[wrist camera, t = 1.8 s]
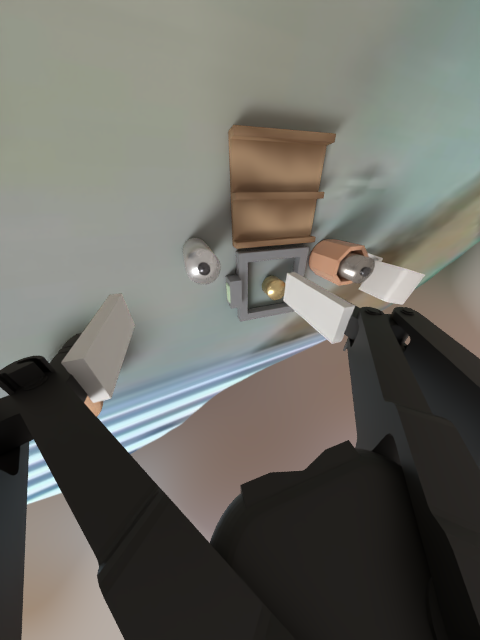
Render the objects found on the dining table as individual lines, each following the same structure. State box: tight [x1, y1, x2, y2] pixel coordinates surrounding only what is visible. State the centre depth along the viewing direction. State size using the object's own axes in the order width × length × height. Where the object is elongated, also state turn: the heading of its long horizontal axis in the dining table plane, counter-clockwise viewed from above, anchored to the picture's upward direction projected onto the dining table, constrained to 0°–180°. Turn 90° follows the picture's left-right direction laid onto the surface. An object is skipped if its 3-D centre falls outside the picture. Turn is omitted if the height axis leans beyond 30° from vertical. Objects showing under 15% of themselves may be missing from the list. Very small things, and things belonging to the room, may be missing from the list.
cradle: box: [226, 245, 309, 321], centre depth 33 cm, size 13×15×3 cm
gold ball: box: [262, 276, 286, 300], centre depth 33 cm, size 4×4×3 cm
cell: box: [183, 238, 220, 284], centre depth 24 cm, size 4×4×10 cm
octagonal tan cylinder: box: [309, 239, 369, 285], centre depth 33 cm, size 6×6×7 cm
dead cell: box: [336, 252, 375, 283], centre depth 31 cm, size 4×4×10 cm
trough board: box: [228, 125, 336, 249], centre depth 26 cm, size 13×14×2 cm
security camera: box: [359, 253, 425, 304], centre depth 36 cm, size 6×7×10 cm
